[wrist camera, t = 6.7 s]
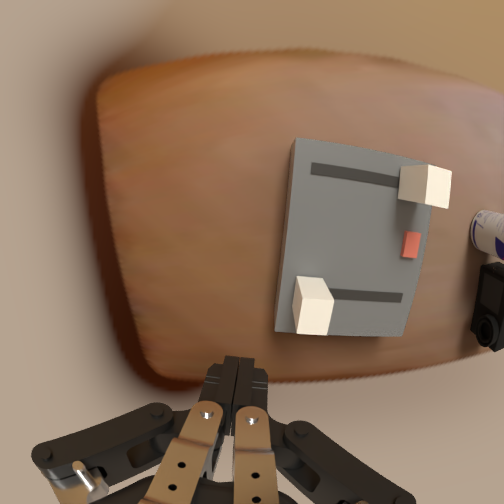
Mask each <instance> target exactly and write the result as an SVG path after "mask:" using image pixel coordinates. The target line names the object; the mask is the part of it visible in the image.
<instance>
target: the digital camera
mask: <svg viewBox="0 0 504 504" xmlns="http://www.w3.org/2000/svg"><path fill="white" fill-rule="evenodd" d="M493 267H494V269H493ZM471 331H472V332H473V333H474V334H475V335H476V338H477V340H478V342H479V344H480V345H481V346H483V347H489V348H490V349H491V350H493V351H494V352H496V351H498V350H501V349H503V348H504V264H502V263H500V262H495V263H490V264H486V265H482V266H481V269H480V277H479V285H478V292H477V298H476V304H475V310H474V315H473V320H472V325H471Z"/></svg>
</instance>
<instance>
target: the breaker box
mask: <svg viewBox="0 0 504 504" xmlns="http://www.w3.org/2000/svg"><path fill="white" fill-rule="evenodd" d="M428 164H429V163H425V162H422V161H418V160H414V159H410V158H406V157H402V156H398V155H394V154H389V153H385V152H380V151H376V150H371V149H366V148H361V147H356V146H350V145H344V144H338V143H332V142H326V141H319V140H312V139H304V138H295V140H294V142H293V143H292V145H291V157H290V169H289V179H288V190H287V200H286V210H285V220H284V230H283V239H282V248H281V257H280V265H279V274H278V282H277V290H276V299H275V306H274V327H275V331H276V332H288V333H296V327H295V321H294V314H293V308H292V304H293V298H294V291H295V284H296V277H297V276H303V277H315V278H323V280H324V282H325V283H326V285H327V287H328V289H329V291H330V293H331V295H332V297H333V299H334V305H333V309H332V314H331V319H330V323H329V328H328V332H327V335H341V336H402V334H403V331H404V328H405V325H406V322H407V319H408V315H409V312H410V309H411V305H412V302H413V298H414V294H415V291H416V287H417V283H418V279H419V274H420V270H421V266H422V261H423V256H424V251H425V246H426V241H427V235H428V229H429V223H430V216H431V209H432V205H427V204H422V203H417V202H412V201H407V200H401V199H398V192H399V182H400V171H401V166H413V165H428ZM429 165H432V164H429ZM432 166H436V165H432Z"/></svg>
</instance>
